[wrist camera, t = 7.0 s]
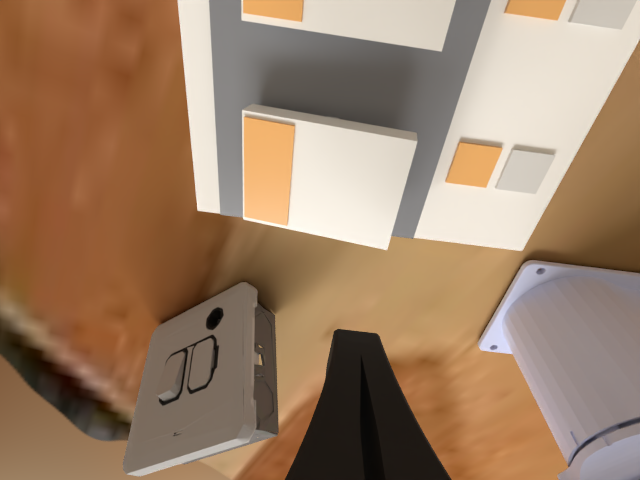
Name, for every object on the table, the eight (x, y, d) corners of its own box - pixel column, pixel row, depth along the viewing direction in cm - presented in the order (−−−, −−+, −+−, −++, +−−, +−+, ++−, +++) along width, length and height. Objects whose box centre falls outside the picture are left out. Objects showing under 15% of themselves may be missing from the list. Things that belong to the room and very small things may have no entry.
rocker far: (416, 132, 12) (417, 142, 11) (388, 236, 15) (386, 251, 14) (252, 103, 13) (240, 110, 12) (251, 208, 15) (242, 220, 14)
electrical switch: (250, 274, 23) (218, 422, 15) (296, 316, 25) (288, 458, 18) (154, 324, 26) (90, 466, 19) (204, 357, 29) (166, 491, 21)
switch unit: (730, -168, 11) (899, -241, 8) (514, 240, 20) (549, 288, 17) (165, -260, 11) (85, -380, 7) (203, 201, 20) (175, 242, 16)
